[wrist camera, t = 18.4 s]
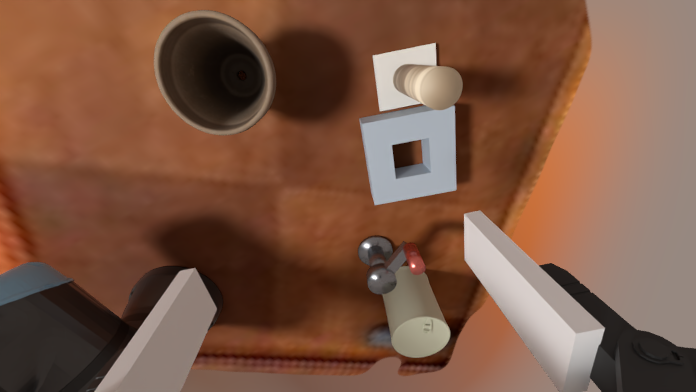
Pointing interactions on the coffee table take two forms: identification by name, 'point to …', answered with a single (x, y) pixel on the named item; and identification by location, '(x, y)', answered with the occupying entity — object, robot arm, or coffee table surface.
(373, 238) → the crank post
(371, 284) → the chrome ball lever
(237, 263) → the coffee table surface
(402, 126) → the block
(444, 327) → the can
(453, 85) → the dowel
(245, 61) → the flower pot
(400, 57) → the mat
